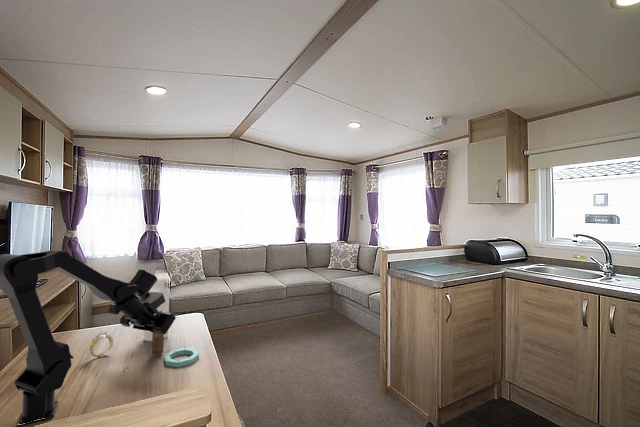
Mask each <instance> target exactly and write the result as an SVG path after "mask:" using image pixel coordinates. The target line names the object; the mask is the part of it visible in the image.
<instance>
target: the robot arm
mask: <svg viewBox="0 0 640 427" xmlns="http://www.w3.org/2000/svg"><path fill="white" fill-rule="evenodd" d="M53 269H55V270H57V271H58V272H61V273H63V274H64V275H66V276H68V277H70V278H71V279H74V280H75V281H77V282H79V283H81V284H83V285H84V286H85V287H86V286H87V288H89V289H90V291H91V293H92V294H93V295H94V296H96V297H97V298H98V299H99V300H102V301H108V302H112V303H111V304H109V307H108V311H107V312H108V314H112V315H119V314H120V312H121V313H122V314H123V315H122V316H121V318H120V319H119V324H120V325H121V326H123V327H128V328H130V326H131V325H133V326H132V328H133V329H135V330H141V331H144V330H146V331H150V332H154V333H160V334H166V333H167V331H168V332H169V330H170V328H171V326H172V325H173V323H174V321H175V320H176V318H177V317H176V315H175V314H174V313H173V312H169V313H167V312H163V313H161V314H157V315H154V314H156V313H157V311H158V310H157V309H156V308H158V307H159V306H160V305H161V304H163V303H164V302H165V298H164V295H163V293H159V292H151V293H148V292H149V291H150V289H151V288H152V287H153V285H154V284H155V283H156V281H158V278H157V277H158V276H156V275H154V274H152V273H151V272H148V271H146V270H145V269H141V268H140V269H138V271H137V272H136V274H135V275H134V276H133V278H132V279H131V280H130V281H129V282H126V281H122V280H119V279H116V278H113V277H110V276H106V275H105V274H102V273H101V272H99V271H97V270H96V269H93V268H92V267H90V266H89V265H87V264H85V263H84V262H82V261H80V260H79V259H77V258H75V257H74V256H72V255H71V254H70V253H69V252H68V251H65V250H61V249H50V250H46V251H41V252H40V251H39V252H32V253H24V254H12V253H11V254H10V253H4V254H0V290H1V291H2V293H3V294H5V296H6V297H7V298H8V300H9V303H10V305H11V308H12V311H13V313H14V316H15V318H16V320H17V323H18V326H19V328H20V330H21V334H22V335H23V339H24V341H25V343H26V345H27V348H28V349H27V350H28V351H27V355H26V358H25V362H26V368H25V369H24V370H23V371H22V372H21V374H20V375H19V376H18V377H17V378H16V379H15V380H14V382H13V385H14V386H15V389H16V390H19V391H22V402H21V414H20V416H19V417H18V419H17V421H16V424H18V423H19V424H23V423H28V422H31V421H34V420H37V419H42V418H48V419H50V418H49V417H52V418H53V416H54V417H55V414H56V411H57V408H58V407H59V406H58V405H59V401H58V400H56V390H58V389H59V390H60V389H61V388H62V387H63V384H64V382H65V379H66V377H67V373H68V372H69V371H70V369H71V368H72V360H71V359H74V356H73V355H72V354H71V352H70V351H71V350H70V347H69V344H67V343H65V342H61V341H57V340H55V339H54V336H53V333H52V331H51V328H50V325H49V322H48V320H47V317H46V314H45V311H44V308H43V306H42V304H41V301H40V299H39V295H38V293H37V289H36V288H37V285H38V281H39V275H40V274H44V273H47V272H49V271H51V270H53ZM55 400H56V401H55ZM28 424H29V423H28Z"/></svg>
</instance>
